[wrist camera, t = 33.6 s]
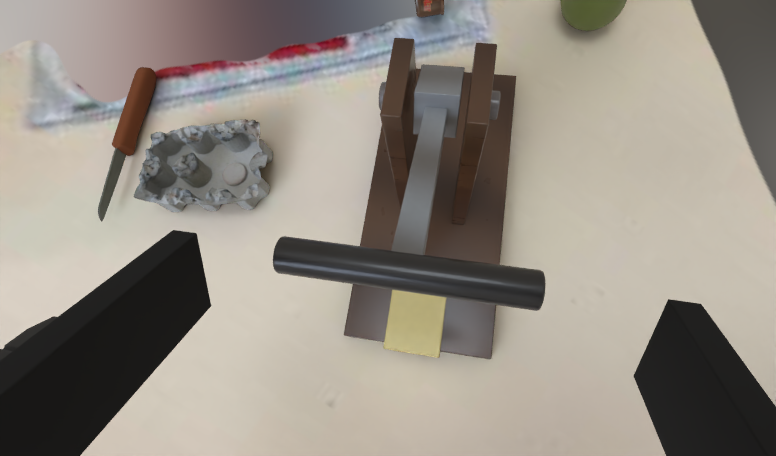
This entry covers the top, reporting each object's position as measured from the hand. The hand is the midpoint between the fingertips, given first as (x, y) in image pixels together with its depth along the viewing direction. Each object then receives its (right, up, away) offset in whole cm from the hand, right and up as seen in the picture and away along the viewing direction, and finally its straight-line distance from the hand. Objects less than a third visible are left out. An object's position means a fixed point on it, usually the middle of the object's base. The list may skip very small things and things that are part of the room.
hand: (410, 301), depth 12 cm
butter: (+2, -5, +20) cm, 20 cm away
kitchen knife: (-25, +10, +29) cm, 39 cm away
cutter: (+1, +4, +7) cm, 8 cm away
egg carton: (-16, +7, +27) cm, 32 cm away
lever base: (+3, +4, +24) cm, 24 cm away
